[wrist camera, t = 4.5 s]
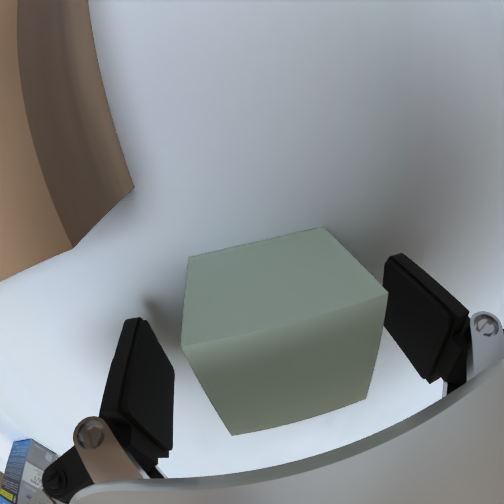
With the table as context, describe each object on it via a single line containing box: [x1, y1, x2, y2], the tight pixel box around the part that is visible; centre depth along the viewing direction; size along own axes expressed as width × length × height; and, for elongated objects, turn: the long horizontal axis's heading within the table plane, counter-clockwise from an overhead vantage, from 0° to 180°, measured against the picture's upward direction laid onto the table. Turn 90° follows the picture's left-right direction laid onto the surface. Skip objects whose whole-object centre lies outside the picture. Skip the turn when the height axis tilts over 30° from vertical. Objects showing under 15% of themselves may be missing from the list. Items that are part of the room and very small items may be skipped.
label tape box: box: [0, 439, 57, 504], centre depth 11 cm, size 9×4×12 cm, turn 122°
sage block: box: [181, 227, 388, 436], centre depth 9 cm, size 5×5×4 cm
